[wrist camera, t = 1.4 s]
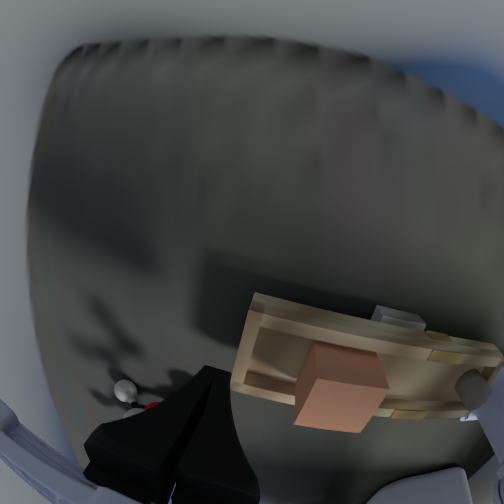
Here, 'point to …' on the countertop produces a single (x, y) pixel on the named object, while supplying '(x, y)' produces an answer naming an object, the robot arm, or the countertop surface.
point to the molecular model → (129, 397)
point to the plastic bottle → (427, 489)
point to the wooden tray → (372, 339)
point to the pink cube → (338, 387)
